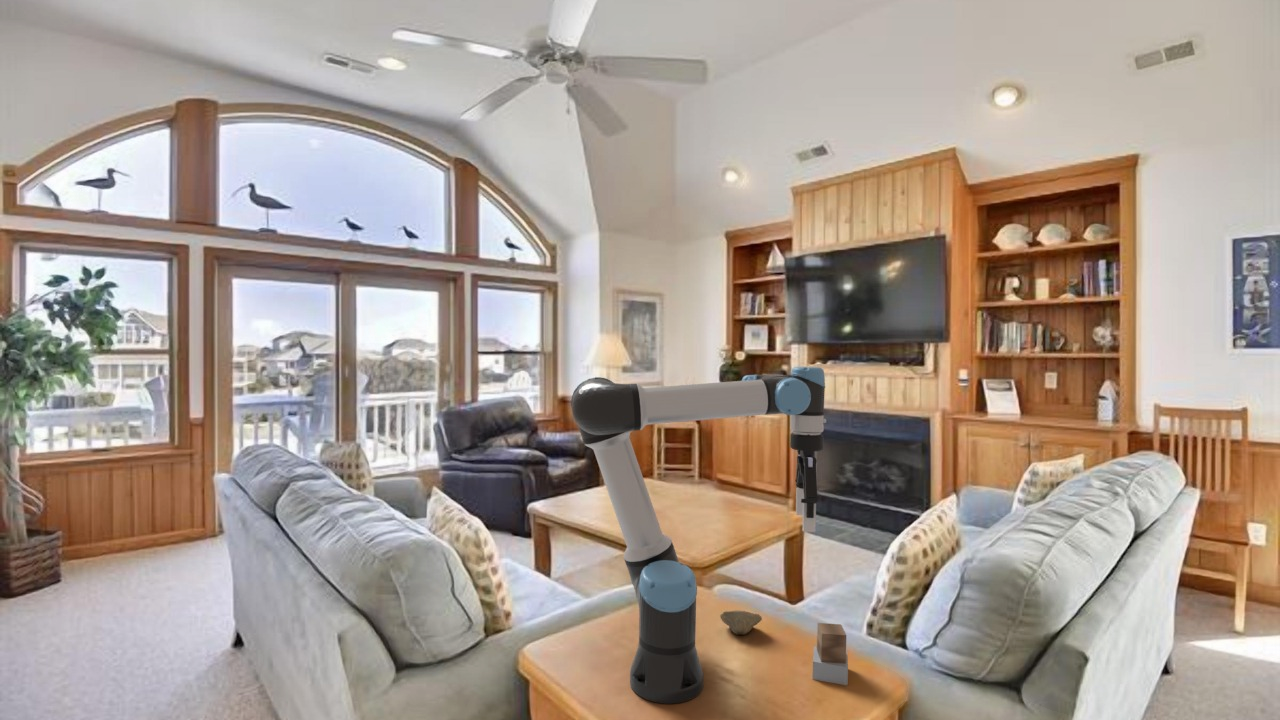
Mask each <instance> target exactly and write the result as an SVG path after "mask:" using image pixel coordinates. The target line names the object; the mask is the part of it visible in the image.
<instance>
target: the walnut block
mask: <svg viewBox="0 0 1280 720" xmlns="http://www.w3.org/2000/svg"><path fill="white" fill-rule="evenodd" d="M816 629H817V630H816V634H817V635H816V637H817V638H816V646H817V651H818V654H819V657H820V660H821V662H829V663H843V664H846V651H847V634H846V632H845V630H844V627H843V625H842V624H839V623H828V622H827V623H826V622H817V628H816Z"/></svg>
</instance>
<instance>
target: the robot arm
mask: <svg viewBox="0 0 1280 720" xmlns="http://www.w3.org/2000/svg"><path fill="white" fill-rule="evenodd" d="M825 380H826V379H825V371H824V369H823V368H821V367H819V366H793V367H792V369H791V372H790V374H785V375H784V374H783V375H781V374H780V375H779V374H776V375H775V374H745V375H744V376H743V377H742V379H741V380H737V381H736V380H735V381H734V380H732V381H722V382H721V381H720V382H708V383H696V384H695V383H693V384H680V385H666V386H665V385H664V386H654V387H653V386H652V387H643V386H641V385H640V384H639V383H615V382H613V381H612V380H610V379H608V378H606V377H599V376H595V377H592V378H588V379H586V380H584V381H582V382H581V383H580V384H578V385H577V386H576V388H575V389H574V390H573V392H572V395H571V400H570V407H571V411H572V412H571V415H572V417H573V419H574V421H575V423H576V424H577V427H578V430H579V433H580V436H581V438H582V442H583V445H584V446H586V447H588V448H590V449H592V450H593V452H594V455H595V458H596V461H597V464H598V465H597V466H598V468H599V471H600V473H601V476H602V479H603V482H604V485H605V487H606V491H607V493H608V496H609V500H610V502H611V505H612V508H613V511H614V513H615V517H616V519H617V522H618V525H619V528H620V531H621V534H622V536H623V539H624V542H625V544H626V548H625V551H624V552H623V560H624V562H625V565H626V568H627V572H628V574H629V577H630V581H631V584H632V587H633V590H634V594H635V596H636V600H637V603H638V604H637V605H638V608H639V609H638V611H639V612H638V615H639V617H638V619H639V622H638V629H639V630H638V635H639V636H638V637H639V638H638V646H637V650H636V652H635V654H634V659H633V660H632V664H631V666H630V671H629V684H630V688H631V690H632V691H633V692H634V693H635V694H637V695H638V696H639V697H641V698H642V699H644V700H647V701H650V702H653V703H658V704H680V703H684V702H687V701H691V700H692V699H695V698H696V697H697V696H698V695H699V694H700V693H701V692H702V691H703V687H704V671H703V668H702V665H701V661H700V657H699V654H698V651H697V648H696V630H697V629H696V628H697V627H696V624H697V622H696V620H697V617H696V616H697V595H698V586H697V579H696V575H695V573H694V572H693V570H692V569H691V568H690V567H689V566H687V565H686V564H682V563H681V562H680V561H679V559H678V555H677V551H676V549H675V546H674V544H673V540H672V538H671V537H670V536H668V535H665V534H664V533H663V531H662V528H661V526H660V523H659V520H658V517H657V515H656V510H655V507H654V505H653V503H652V499H651V497H650V494H649V491H648V488H647V485H646V482H645V479H644V477H643V474H642V471H641V468H640V464H639V462H638V460H637V456H636V454H635V453H636V452H635V450H634V447H633V444H632V441H631V439H630V435H631V433H632V432H635V431H642V430H643V429H644V428H645V426H647V425H658V424H660V425H661V424H669V423H671V424H672V423H683V422H692V421H705V420H706V421H707V420H715V419H728V418H729V419H730V418H740V417H751V416H752V417H753V416H762V415H763V416H765V415H767V416H768V415H769V416H770V415H779V414H780V415H782V414H783V415H785V416H790V419H789V420H790V424H789V425H790V426H789V427H790V428H789V429H790V431H792V432H791V433H790V438H789V439H790V440H789V441H790V443H789V444H790V448H791V449H792V450H795V451H797V456H796V474H795V480H794V481H795V483H796V484H795V486H796V489H795V490H796V491H795V492H796V494H795V495H796V496H795V501H796V502H795V515H796V516H802V532H806V533H816V531H817V530H816V527H817V525H816V524H817V522H816V521H817V520H816V519H817V503H818V502H819V499H818V498H819V497H818V485H817V484H818V483H817V482H818V481H817V480H818V479H817V462H818V461H817V458H816V457H815V456H814V452H821V451H823V450H824V443H825V441H824V435H823V434H822V433H823V432H824V428H825V427H824V424H826V423H827V419H826V418H824V416H825V415H824V414H825V393H826V391H825V389H826V383H825V382H826V381H825Z"/></svg>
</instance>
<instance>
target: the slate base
mask: <svg viewBox="0 0 1280 720" xmlns="http://www.w3.org/2000/svg"><path fill="white" fill-rule="evenodd" d="M812 656H813V657H812V680H815V681H821V682H827V683H831V684H832V683H833V684H838V685H843V686H848V684H849V682H848V681H849V680H848V679H849V658H848V651H847V650H846V664H843V663H829V662H821V660H820V657H819V654H818V651H817V645H813V653H812Z"/></svg>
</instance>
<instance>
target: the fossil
mask: <svg viewBox="0 0 1280 720" xmlns="http://www.w3.org/2000/svg"><path fill="white" fill-rule="evenodd" d="M719 617H720V619H721V621H722V623H723V624H725V625H726V626H728V627H729V629H730V630H731V631H732V633H734V634H735V635H737V636H739V635H741V636H744V635H747V634H748V633H749V632H750V631H751V630H752V629H753V628H754V626H757V625H758V624H759V623H760V622H761V621H762V620H763V618H762V616H761V615H760V614H758V613H753V612H749V611H745V610H727V611H726V610H725V611H723V612H722V613H721V614H720V616H719Z"/></svg>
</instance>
